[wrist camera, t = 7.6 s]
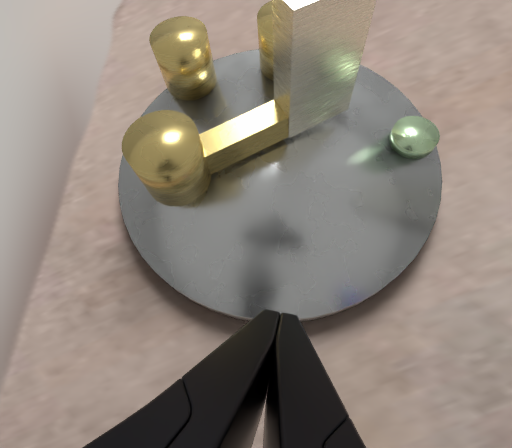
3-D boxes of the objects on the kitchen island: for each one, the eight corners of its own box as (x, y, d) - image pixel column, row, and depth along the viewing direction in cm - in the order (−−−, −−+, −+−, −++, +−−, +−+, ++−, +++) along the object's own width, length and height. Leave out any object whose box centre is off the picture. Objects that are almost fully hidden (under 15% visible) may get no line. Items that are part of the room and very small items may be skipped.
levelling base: (432, 362, 18) (485, 358, 14) (74, 281, 22) (16, 255, 17) (435, 75, 27) (469, 11, 22) (179, 48, 30) (161, -13, 25)
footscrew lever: (161, 217, 21) (88, 119, 13) (137, 168, 23) (61, 54, 15) (358, 120, 24) (399, -15, 15) (323, 82, 25) (344, -58, 17)
